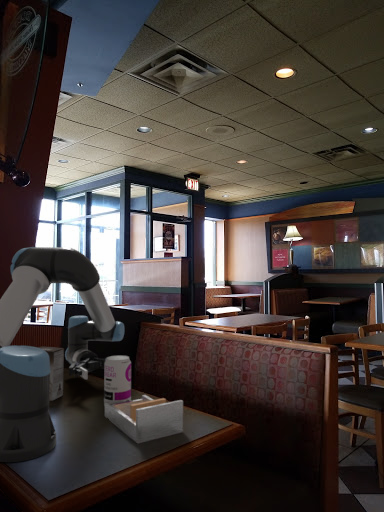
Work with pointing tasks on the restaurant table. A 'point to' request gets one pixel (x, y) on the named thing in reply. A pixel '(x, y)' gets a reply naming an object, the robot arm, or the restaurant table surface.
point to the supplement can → (117, 379)
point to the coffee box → (55, 371)
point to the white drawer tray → (147, 419)
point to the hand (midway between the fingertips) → (106, 372)
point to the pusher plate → (144, 404)
